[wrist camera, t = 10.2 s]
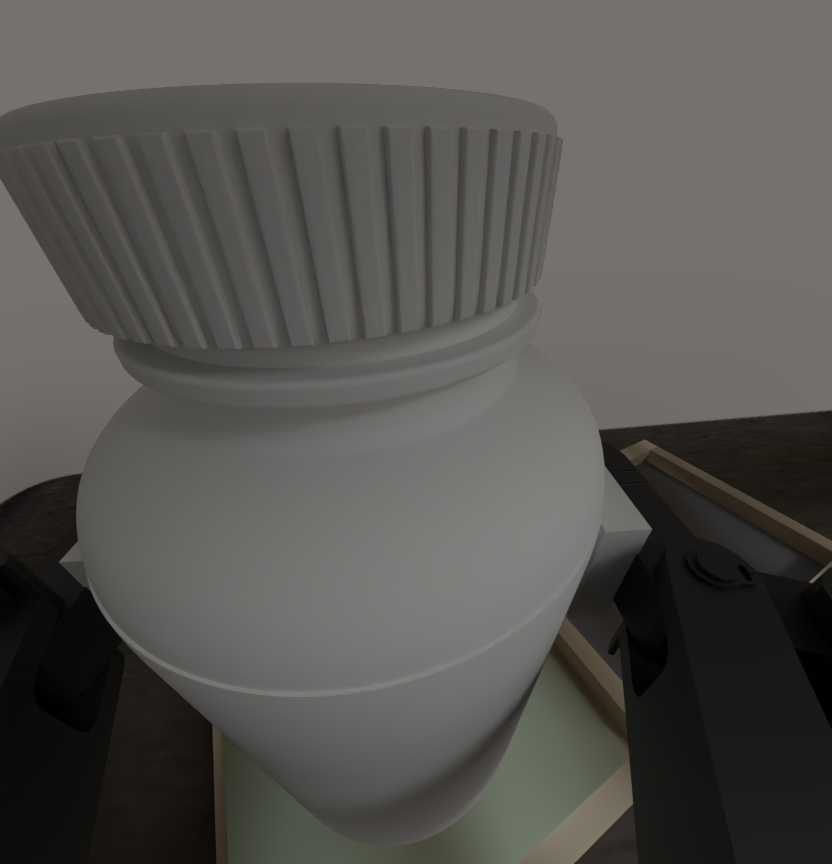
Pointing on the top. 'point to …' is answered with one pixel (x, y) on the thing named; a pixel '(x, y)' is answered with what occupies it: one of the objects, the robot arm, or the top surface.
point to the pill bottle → (325, 420)
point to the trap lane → (531, 721)
